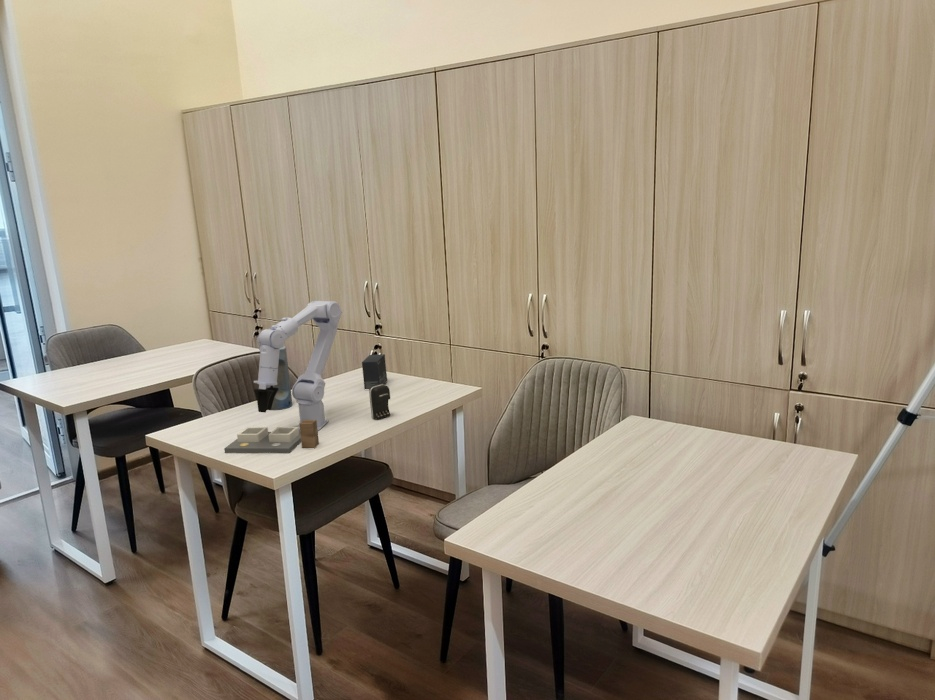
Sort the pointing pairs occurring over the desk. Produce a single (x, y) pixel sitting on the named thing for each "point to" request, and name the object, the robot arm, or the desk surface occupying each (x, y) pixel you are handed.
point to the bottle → (282, 383)
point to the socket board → (265, 440)
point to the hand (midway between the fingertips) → (264, 411)
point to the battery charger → (379, 401)
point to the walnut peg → (309, 433)
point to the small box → (374, 371)
